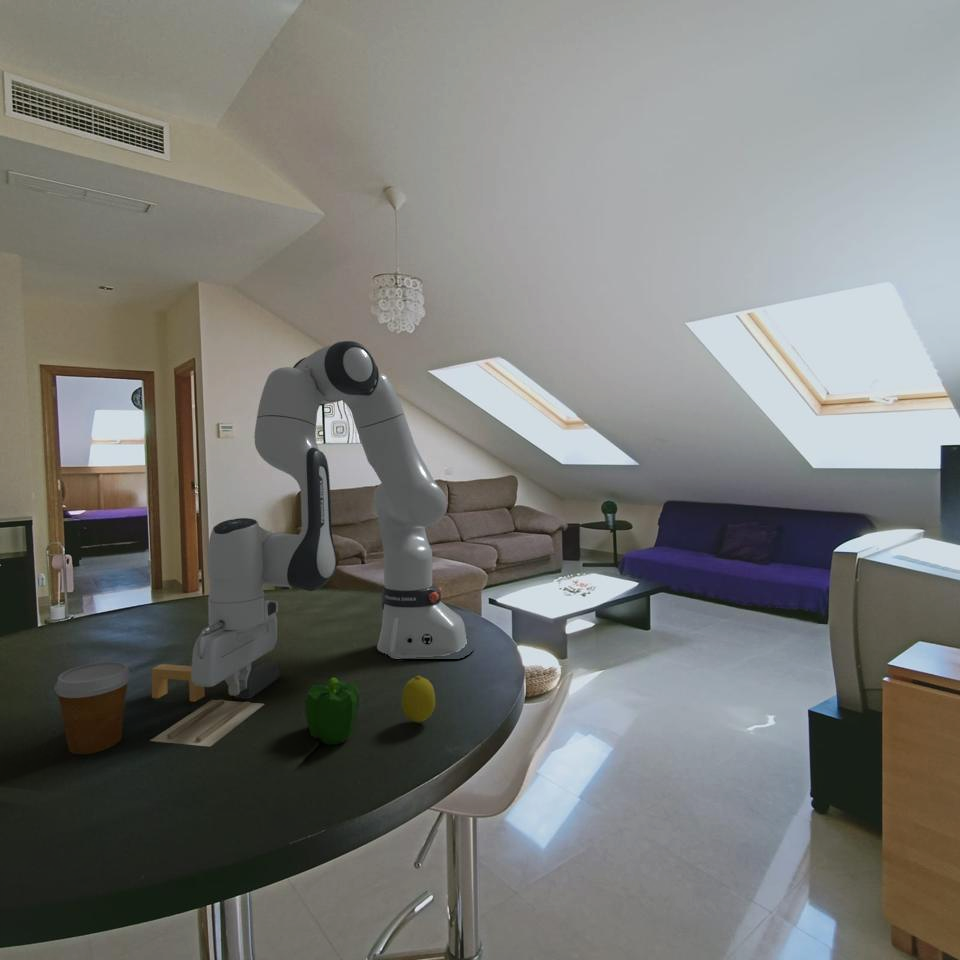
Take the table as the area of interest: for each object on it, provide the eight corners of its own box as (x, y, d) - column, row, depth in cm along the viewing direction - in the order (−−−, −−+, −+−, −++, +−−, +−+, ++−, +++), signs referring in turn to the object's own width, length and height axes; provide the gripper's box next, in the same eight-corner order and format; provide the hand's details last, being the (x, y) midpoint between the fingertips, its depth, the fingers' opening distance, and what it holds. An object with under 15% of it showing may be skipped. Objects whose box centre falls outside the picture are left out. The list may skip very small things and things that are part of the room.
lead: (278, 680, 113) (278, 662, 113) (249, 702, 103) (249, 682, 103) (265, 679, 113) (264, 661, 113) (234, 700, 104) (234, 681, 103)
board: (264, 710, 101) (264, 700, 101) (210, 754, 86) (209, 742, 86) (212, 706, 103) (212, 696, 103) (150, 748, 88) (149, 736, 88)
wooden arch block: (204, 702, 104) (204, 667, 104) (195, 708, 102) (195, 672, 102) (161, 698, 106) (161, 664, 106) (152, 704, 103) (151, 668, 103)
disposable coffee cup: (40, 760, 85) (38, 678, 84) (103, 731, 93) (101, 657, 93) (86, 773, 81) (83, 688, 81) (147, 741, 90) (145, 665, 90)
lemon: (421, 734, 92) (421, 685, 92) (394, 726, 95) (394, 677, 95) (442, 721, 97) (442, 674, 97) (415, 713, 100) (415, 667, 100)
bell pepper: (310, 726, 95) (310, 665, 95) (362, 724, 96) (361, 664, 95) (298, 752, 87) (298, 686, 87) (354, 750, 88) (354, 684, 87)
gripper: (216, 632, 90) (217, 720, 91) (283, 600, 110) (284, 672, 111) (179, 630, 91) (181, 717, 92) (252, 598, 112) (253, 670, 112)
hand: (238, 692), depth 102 cm, fingers closed
